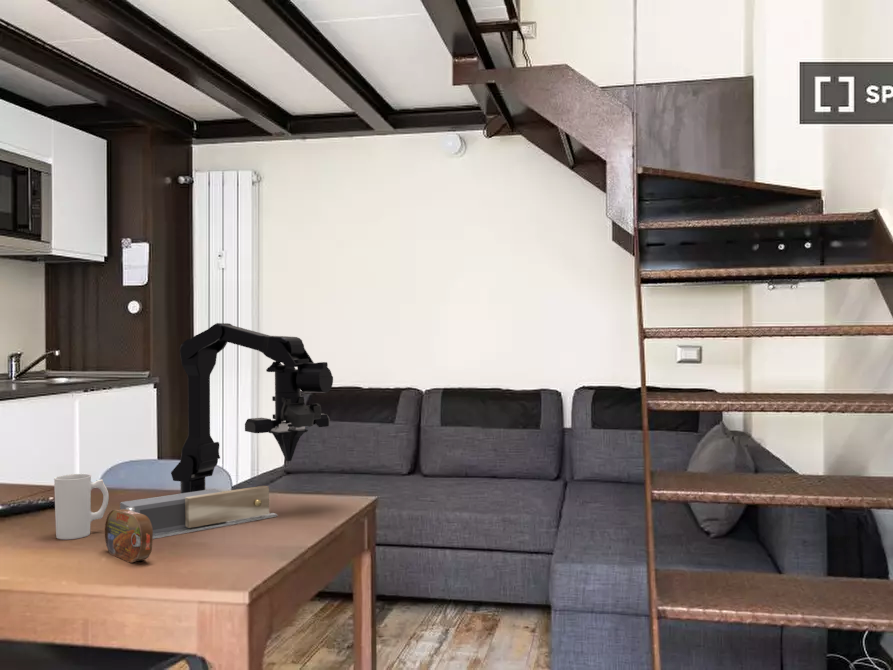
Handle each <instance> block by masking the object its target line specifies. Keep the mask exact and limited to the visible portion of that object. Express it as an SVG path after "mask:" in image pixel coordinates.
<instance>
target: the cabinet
mask: <svg viewBox="0 0 893 670" xmlns="http://www.w3.org/2000/svg"><path fill="white" fill-rule="evenodd" d="M217 492H223V491H222V490H219V489H216V488H210V489H206V490H202V491H195V492H188V493H181V492H180V493H175V494H168V495H162V496H161V495H160V496H156V497H148V498H140V499H139V498H138V499H134V500H125V501H120V502H119V510H122V509H126V508H127V507H135V512H137V513H140V514H144V515H146V516H147V517H148V518H149V520H150V522H151V524H152V528H153V534H155V533H161V532H166V531H172V530H178V529H183V528H188V527H186V526H185V497H191V496H197V495H204V494H211V493H217Z"/></svg>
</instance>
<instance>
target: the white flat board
mask: <svg viewBox="0 0 893 670" xmlns="http://www.w3.org/2000/svg"><path fill="white" fill-rule="evenodd" d="M126 509H127V510H130V511H134V512H135V507H127V508H126ZM270 518H271V519H272V518H278V514H277V513H274V512H269V514H266V515H260V516H255V517H249V518H243V519H237V520H232V521H226V522H220V523H215V524H209V525H203V526H198V527H192V528H183V529H178V530H172V531H166V532H161V533H155V534H153V540H154V539H160V538H164V537H165V538H166V537H171V536H177V535H182V534H186V533H187V534H188V533H194V532H198V531H205V530H210V529H211V530H212V529H216V528H220V527H227V526H232V525H239V524H244V523H248V522H254V521H259V520H260V521H261V520H266V519H270Z"/></svg>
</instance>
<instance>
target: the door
mask: <svg viewBox="0 0 893 670" xmlns="http://www.w3.org/2000/svg"><path fill="white" fill-rule="evenodd" d="M269 513H270V486H267V485H258V486H252V487H245V488H238V489H231V490H225V491H222V492H217V493H211V494H204V495H197V496H191V497H185V526H186V527H188V528H192V527H198V526H203V525H209V524H215V523H220V522H226V521H232V520H237V519H243V518H249V517H255V516H260V515H266V514H269Z"/></svg>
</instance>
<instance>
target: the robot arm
mask: <svg viewBox="0 0 893 670" xmlns="http://www.w3.org/2000/svg"><path fill="white" fill-rule="evenodd" d="M228 343H230V344H232V345H233V344H234V345H237V346H240V347H243V348H244V347H245V348H248V349H252V350H254V351H258V352H260V353H262V354H263V355H264V356H265V358H266V357H267V358H268V359H270V360H273V362H272V363H271V364H270V365H269V366H268V367H266V368H267V369H266V372H267V373H274V395H273V396H271V397H272V399H271V401H272V402H274V414H272V419H271V418H267V417H252V418H247V419H246V421H245V423H244V432H247V433H253V434H263V433H264V434H265V433H269V434H272V435H273V437H274V438H275V440H276V442H277V445H278V446H279V448H280V450H281V451H280V452H282V455H283V457H284V459H285V461H286V462H291V461H292V459H293V457H294V454H295V451H296V447H297V445H298V442H299V441H300V438H301V437H302V436H303V435H304V434H305V433H307V432H308V431H309V429H307V428H306V427H309V428H310V427H313V425H315V426H316V427H317V428H324V427H325V428H327V427H330V425H331V424H330V420H331V419H330V417H329V415H328V414H327V413H322V407H321V404H320V403H318V402H317V403H310V405H306V402H305V398H304V396H301V395H302V394H301V393H322V394H327V393H329V392H330V391H331V390H332V387H333V383H334V376H333V374H332V371H331V369H330V368H329V366H328V362H327V361H326V362H325V361H324V362H323V361H321V362H314V361H313V359H312V358H311V356H310V355H309V353H308V352H307V350H306V348H305V345H304V343H303V340H302V339H301V338H300V337H298V336H285V335H269V334H267V333H266V334H265V333H261V332H258V331H255V330H250V329H247V328H243V327H239V326H235V325H233V324H231V323H225V322H224V323H222V322H221V323H220V322H217V323H214V324H213V325H211V326H210V327H209V328H207V329H206V330H204V331H202V332H200V333H198V334H196V335H193V337H191V338H189V339H185V340H184V341H183V342H182V343H181V345H180V347H179V356H180V363H181V366H182V367H183V370H184V372H185V374H186V375H187V398H188V399H187V404H188V405H187V408H188V409H187V410H188V416H187V417H188V418H187V419H188V421H187V422H188V423H187V424H188V426H187V428H188V431H187V433H188V434H187V438H186V439H185V442H184V444H183V445H182V449H181V454H180V455H181V456H180V461H179V462H178V463H177V465H176V466H175V467H174V468H173V469H172V471H171V472H170V474H171V478H172V481H174V482H180V485H179V486H180V494H181V493H188V492H195V491H202V490H207V489H206V478H207V477H213V475H214V470H215V467H216V466H217V465H218V462H219V460H220V459H221V456H220V442H219V441H214V439H213V438H212V436H211V397H210V396H211V393H210V392H211V388H210V387H211V386H210V385H211V383H210V380H211V374H212V372H213V370H214V368H215V366H216V363H217V355H218V353H220V352H221V351H222V350H223V349H224V348H226V345H227V344H228Z"/></svg>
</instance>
